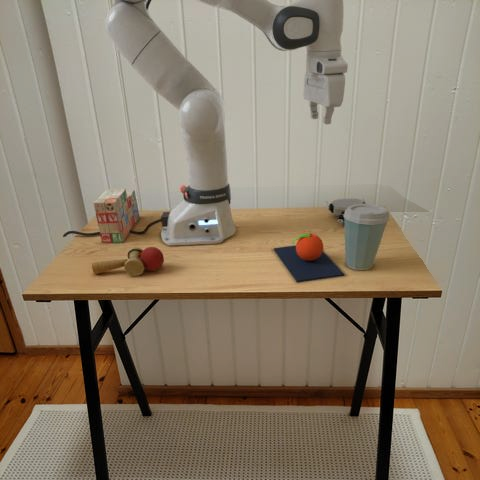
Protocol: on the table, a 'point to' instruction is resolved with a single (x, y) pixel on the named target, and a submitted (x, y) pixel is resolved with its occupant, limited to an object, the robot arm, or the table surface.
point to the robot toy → (342, 207)
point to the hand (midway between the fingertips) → (320, 121)
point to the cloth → (307, 265)
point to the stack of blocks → (116, 214)
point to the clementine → (309, 247)
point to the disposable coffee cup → (363, 234)
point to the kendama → (133, 261)
